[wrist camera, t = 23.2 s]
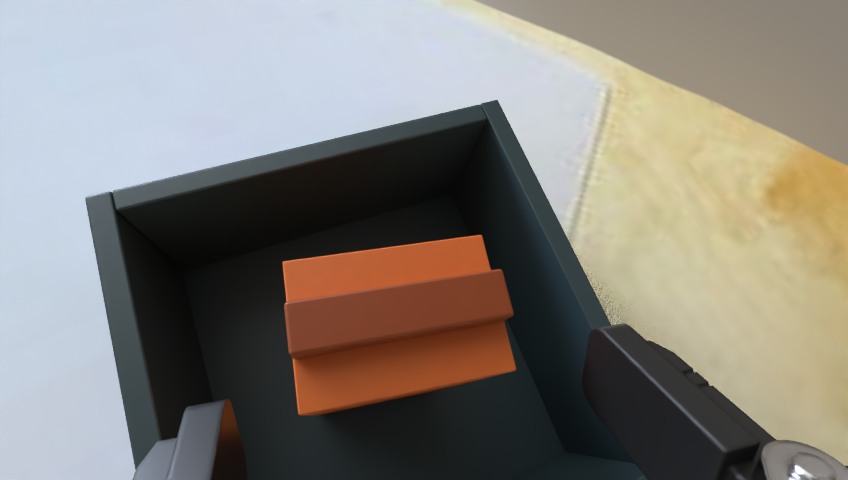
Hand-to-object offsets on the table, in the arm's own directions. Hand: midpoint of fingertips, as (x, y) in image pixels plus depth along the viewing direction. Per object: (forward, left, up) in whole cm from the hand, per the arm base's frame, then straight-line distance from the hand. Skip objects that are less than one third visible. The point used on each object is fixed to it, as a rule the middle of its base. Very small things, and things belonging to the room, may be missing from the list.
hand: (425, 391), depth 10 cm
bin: (0, -2, -13) cm, 13 cm away
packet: (0, -2, -12) cm, 12 cm away
